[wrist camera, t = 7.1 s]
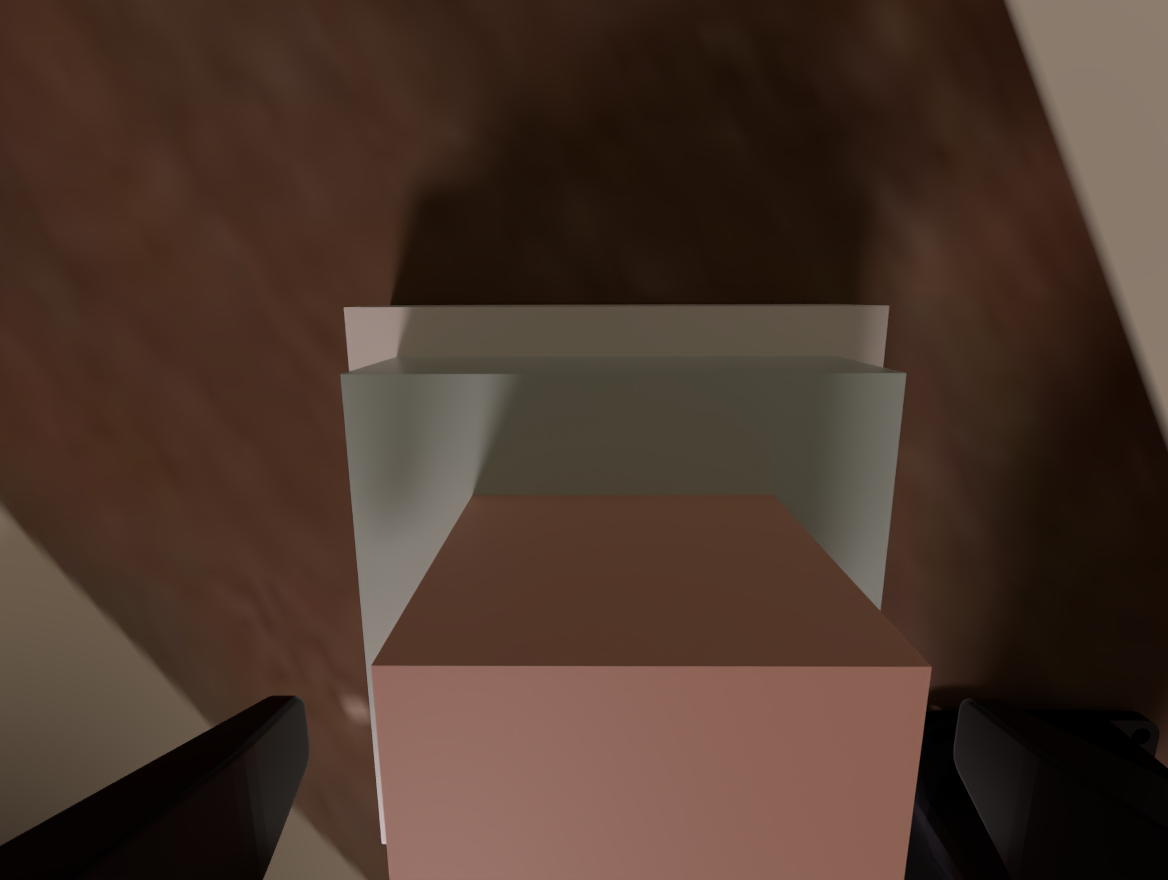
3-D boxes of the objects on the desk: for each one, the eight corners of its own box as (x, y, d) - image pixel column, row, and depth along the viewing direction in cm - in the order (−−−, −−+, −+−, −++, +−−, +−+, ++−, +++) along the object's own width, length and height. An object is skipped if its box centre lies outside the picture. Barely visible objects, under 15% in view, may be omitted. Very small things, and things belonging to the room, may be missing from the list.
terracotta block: (756, 756, 12) (876, 1088, 7) (484, 754, 12) (407, 1083, 7) (773, 494, 11) (931, 667, 6) (472, 495, 11) (370, 665, 6)
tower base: (800, 697, 18) (901, 889, 12) (416, 696, 18) (334, 886, 12) (833, 303, 16) (978, 308, 10) (389, 304, 16) (271, 310, 10)
